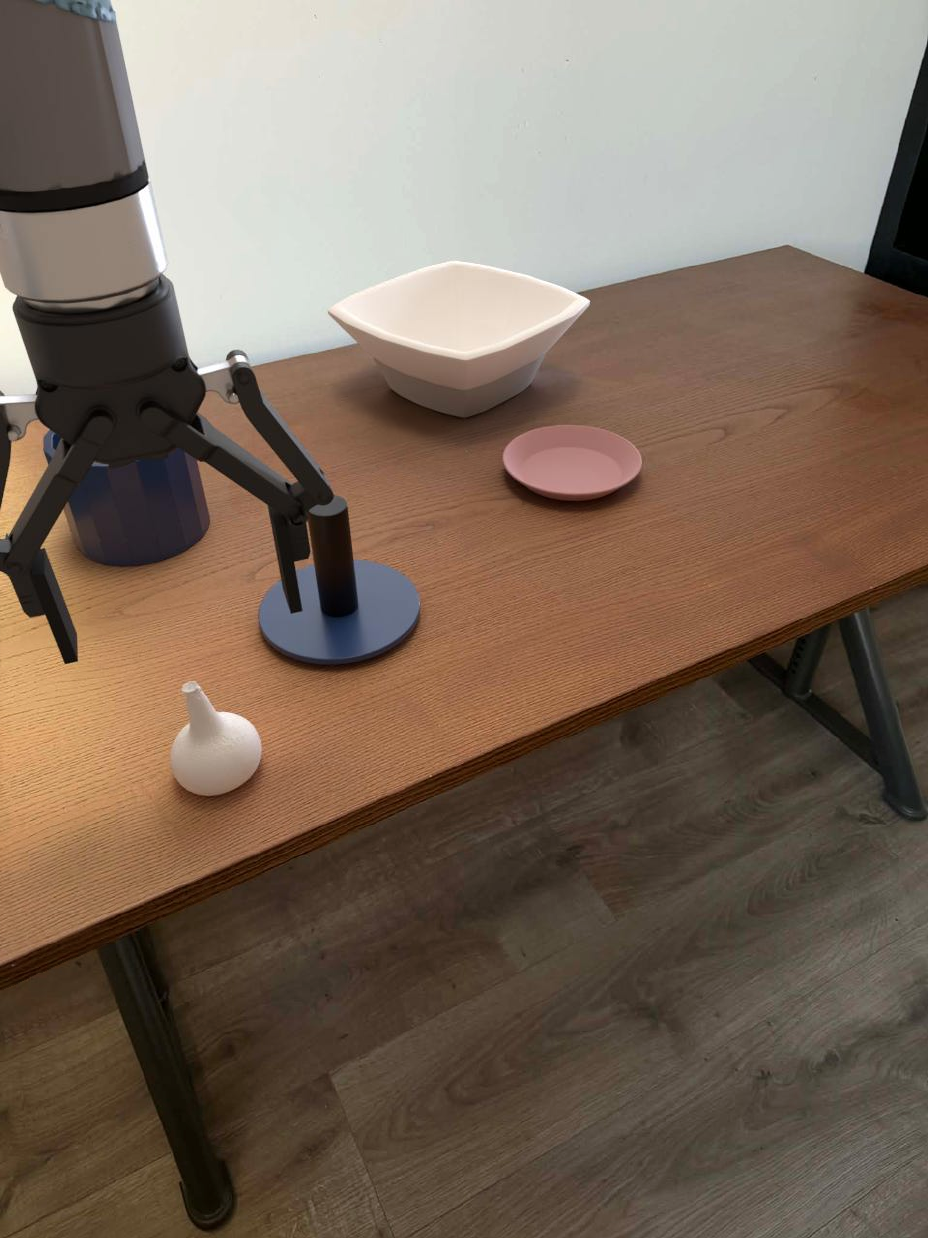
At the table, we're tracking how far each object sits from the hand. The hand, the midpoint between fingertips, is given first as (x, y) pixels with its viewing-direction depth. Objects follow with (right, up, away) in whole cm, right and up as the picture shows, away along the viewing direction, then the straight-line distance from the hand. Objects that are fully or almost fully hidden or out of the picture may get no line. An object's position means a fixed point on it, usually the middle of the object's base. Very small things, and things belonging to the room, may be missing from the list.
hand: (185, 624), depth 58 cm
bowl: (+17, +29, +56) cm, 65 cm away
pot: (-14, +9, +33) cm, 36 cm away
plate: (+29, +15, +39) cm, 51 cm away
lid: (+7, +1, +21) cm, 22 cm away
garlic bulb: (0, -11, +8) cm, 13 cm away
